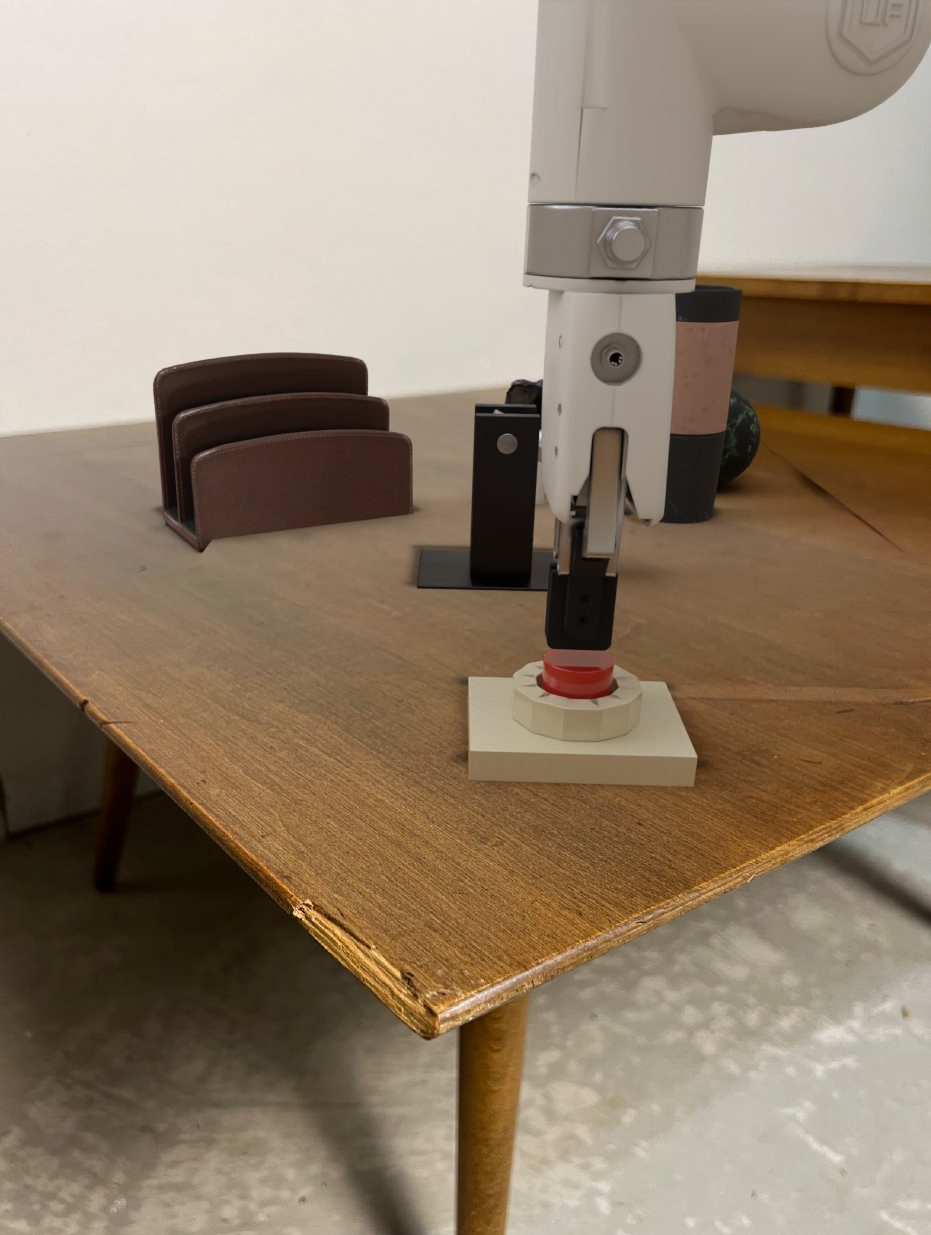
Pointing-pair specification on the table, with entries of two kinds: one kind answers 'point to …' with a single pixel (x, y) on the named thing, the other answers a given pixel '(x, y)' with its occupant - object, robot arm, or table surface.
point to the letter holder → (275, 446)
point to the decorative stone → (739, 438)
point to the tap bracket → (497, 510)
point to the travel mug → (700, 399)
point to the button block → (576, 733)
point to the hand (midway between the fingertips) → (576, 643)
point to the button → (577, 673)
